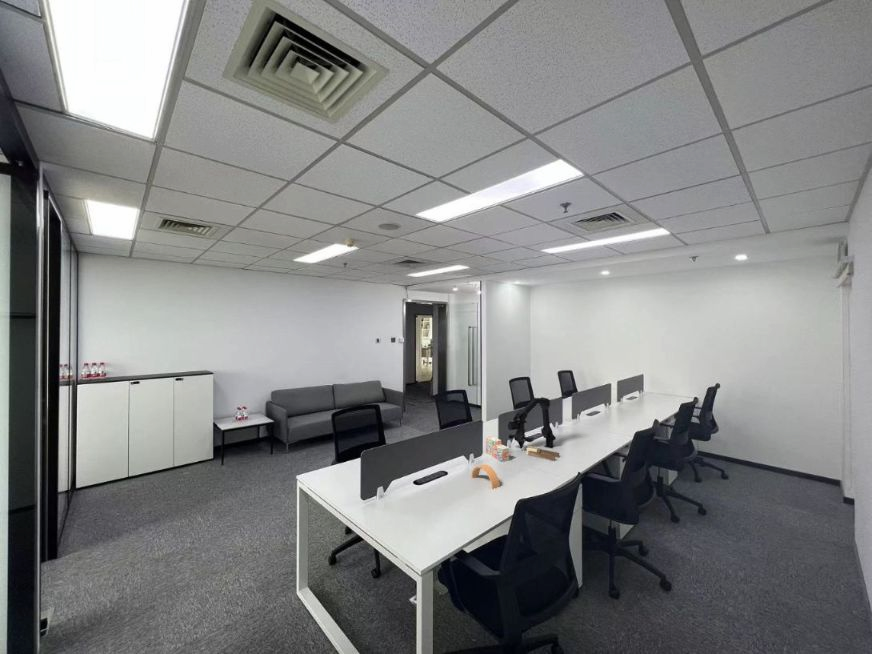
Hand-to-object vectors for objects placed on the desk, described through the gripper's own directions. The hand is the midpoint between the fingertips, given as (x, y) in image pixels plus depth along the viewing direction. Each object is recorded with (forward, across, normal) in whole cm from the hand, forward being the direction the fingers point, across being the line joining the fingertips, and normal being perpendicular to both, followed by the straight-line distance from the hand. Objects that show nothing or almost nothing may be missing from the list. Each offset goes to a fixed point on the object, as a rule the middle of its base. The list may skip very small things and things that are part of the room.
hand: (521, 448), depth 271 cm
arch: (+2, +5, -66) cm, 66 cm away
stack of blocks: (+2, -10, -21) cm, 23 cm away
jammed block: (+2, +10, 0) cm, 10 cm away
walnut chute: (+2, +18, 0) cm, 18 cm away
